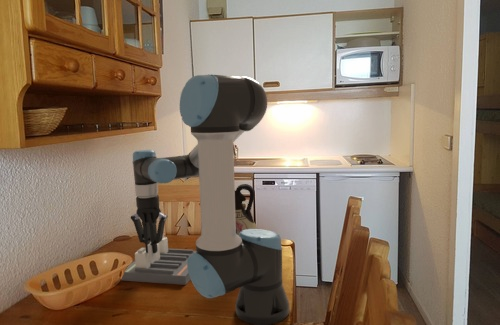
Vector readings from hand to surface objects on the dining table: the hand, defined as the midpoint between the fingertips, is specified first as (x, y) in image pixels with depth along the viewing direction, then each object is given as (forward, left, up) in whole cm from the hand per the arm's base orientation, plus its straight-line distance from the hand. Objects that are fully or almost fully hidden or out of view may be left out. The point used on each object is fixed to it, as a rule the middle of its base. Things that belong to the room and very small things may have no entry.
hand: (152, 261), depth 128 cm
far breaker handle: (+14, +3, -2) cm, 14 cm away
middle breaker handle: (+7, +3, -2) cm, 8 cm away
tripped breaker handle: (0, +4, -2) cm, 4 cm away
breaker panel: (+7, -2, -6) cm, 9 cm away
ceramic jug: (+19, -28, -6) cm, 34 cm away
